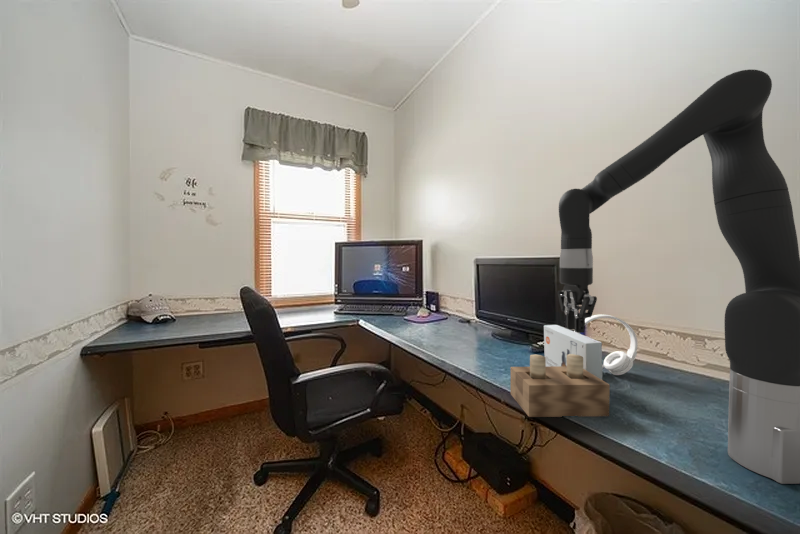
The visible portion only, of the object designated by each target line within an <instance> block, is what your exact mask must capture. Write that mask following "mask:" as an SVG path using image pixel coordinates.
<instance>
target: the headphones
mask: <svg viewBox="0 0 800 534" xmlns="http://www.w3.org/2000/svg"><path fill="white" fill-rule="evenodd" d="M598 319H613V320H616V321H617V322H619V323H620V324H622V325H623V326H624V328H625V329H626V330H627V332H628V334H629V339H630V345H629V348H628V349H627V351H620V350H617V351H612V352H611V353H609V354H607V356H605V358H604V360H603V363H602V370H604V368H605V369H606V370H607V371H609V372H610V373H611V374H612V375H614V376H621V375H624V374H626V373H628V372H629V371H630V370H631V369H632V367H633V366H634V361H635V359H636V357H637V354H638V345H639V344H638V337H637V335H636V332H635V330H634V329H633V328H632V327H631V326H630V324H628V322H626V321H625V320H623V319H621V318H619V317H617V316H614V315H610V314H603V313H602V314H601V313H600V314H592V316H591V317H588V318H585V326H586V325H588V324H589V323H590V322H592V321H595V320H598ZM573 331H574V332H575V329H573ZM576 333H577V332H576Z"/></svg>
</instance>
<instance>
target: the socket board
mask: <svg viewBox="0 0 800 534" xmlns="http://www.w3.org/2000/svg"><path fill="white" fill-rule="evenodd" d="M610 385H611V384H609V383H608V382H606V381H604V380H603V379H602V380H601V379H600V378H598V377H596V376H595V375H593V374H591V373H590V372H588V371H586V370H585V369H583V379H571V378H569V377H568V376H567V366H550V367H546V379H532V378H531V377H530V366H510V396H512V398H513V399H514V400H515V402H517V404H518V405H519V406H520V408H521V409H522V410H523V411H524V413H525V414H526V415H527V416H528V417H529V418H547V417H548V418H551V417H552V418H553V417H554V418H556V417H557V418H559V417H560V418H561V417H562V416H578V417H610V392H611V391H610V390H611V389H610V388H611V387H610ZM562 418H563V417H562Z"/></svg>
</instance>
